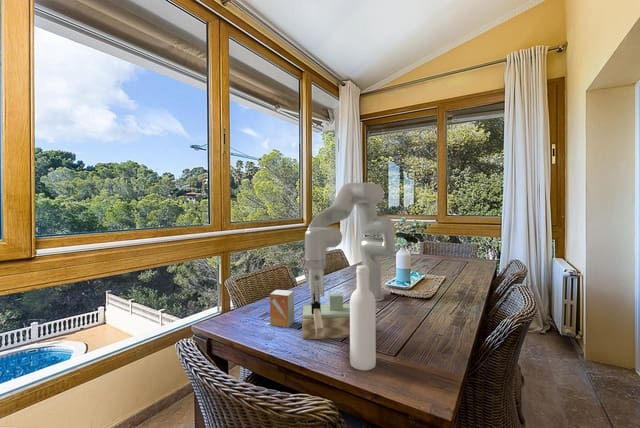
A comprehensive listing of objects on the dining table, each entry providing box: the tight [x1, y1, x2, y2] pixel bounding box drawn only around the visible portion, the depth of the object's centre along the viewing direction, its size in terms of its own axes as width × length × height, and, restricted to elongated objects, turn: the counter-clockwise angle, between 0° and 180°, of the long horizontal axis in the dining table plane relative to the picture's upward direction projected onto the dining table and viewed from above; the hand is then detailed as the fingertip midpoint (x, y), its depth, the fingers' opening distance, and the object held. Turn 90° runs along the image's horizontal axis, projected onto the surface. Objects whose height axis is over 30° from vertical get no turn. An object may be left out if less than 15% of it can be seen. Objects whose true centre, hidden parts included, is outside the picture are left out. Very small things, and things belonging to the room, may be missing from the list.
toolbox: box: [301, 302, 350, 340], centre depth 112 cm, size 20×15×8 cm
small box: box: [269, 289, 295, 329], centre depth 119 cm, size 8×6×13 cm
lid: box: [301, 293, 350, 319], centre depth 112 cm, size 20×10×7 cm, turn 95°
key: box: [314, 309, 324, 339], centre depth 96 cm, size 2×16×3 cm, turn 5°
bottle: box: [349, 264, 377, 371], centre depth 88 cm, size 8×8×30 cm
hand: (316, 313), depth 106 cm, fingers closed
